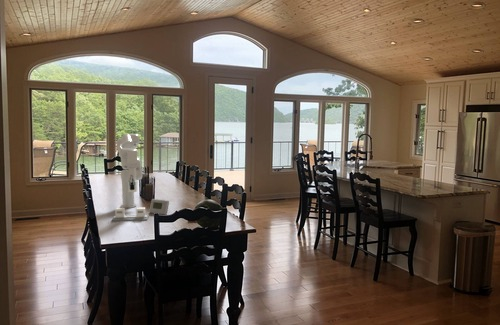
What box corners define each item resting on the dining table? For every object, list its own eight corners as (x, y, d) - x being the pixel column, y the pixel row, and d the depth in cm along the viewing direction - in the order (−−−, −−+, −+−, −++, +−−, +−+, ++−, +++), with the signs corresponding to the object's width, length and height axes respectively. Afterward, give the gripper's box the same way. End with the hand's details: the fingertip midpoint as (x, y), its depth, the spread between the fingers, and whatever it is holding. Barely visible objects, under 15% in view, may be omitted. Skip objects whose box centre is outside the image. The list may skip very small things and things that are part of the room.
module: (129, 190, 313) (129, 180, 312) (137, 190, 314) (137, 180, 313) (128, 191, 308) (128, 181, 307) (136, 191, 309) (136, 181, 308)
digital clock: (148, 212, 318) (147, 199, 317) (156, 210, 326) (156, 197, 324) (163, 215, 309) (162, 202, 308) (171, 213, 317) (171, 200, 316)
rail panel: (115, 216, 304) (114, 206, 304) (148, 216, 308) (148, 206, 307) (111, 221, 292) (111, 210, 291) (146, 220, 295) (146, 210, 294)
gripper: (129, 164, 316) (129, 186, 318) (125, 167, 299) (125, 191, 302) (138, 164, 317) (139, 186, 319) (135, 167, 300) (136, 191, 303)
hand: (132, 188), depth 311 cm, fingers closed on module, 5 cm apart
